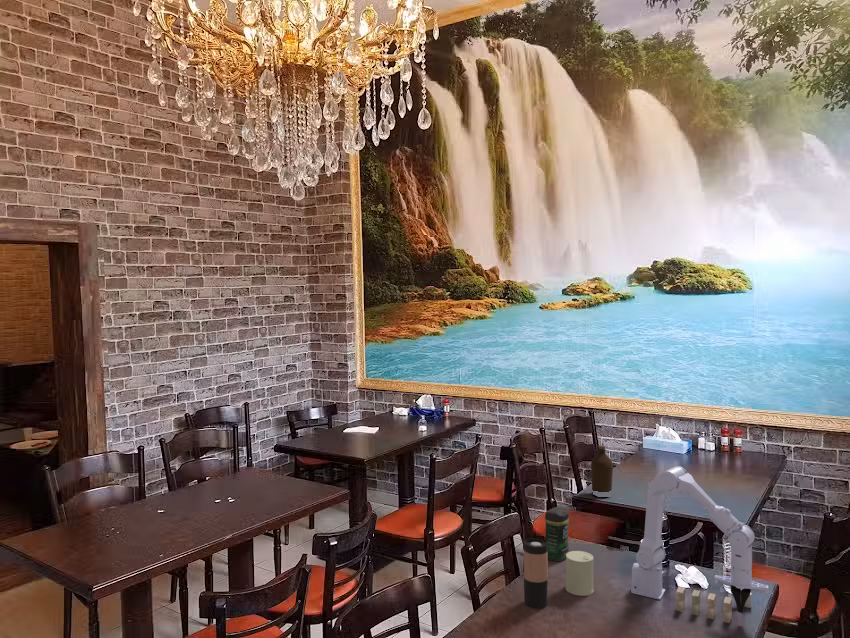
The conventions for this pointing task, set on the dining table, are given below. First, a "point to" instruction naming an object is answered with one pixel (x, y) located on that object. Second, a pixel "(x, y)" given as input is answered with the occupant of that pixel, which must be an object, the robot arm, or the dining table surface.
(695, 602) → the domino
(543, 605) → the travel mug
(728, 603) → the domino
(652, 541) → the robot arm
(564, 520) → the coffee jar
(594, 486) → the olive oil
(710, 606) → the domino
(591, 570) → the can
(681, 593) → the domino
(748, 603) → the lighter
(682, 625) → the dining table surface
